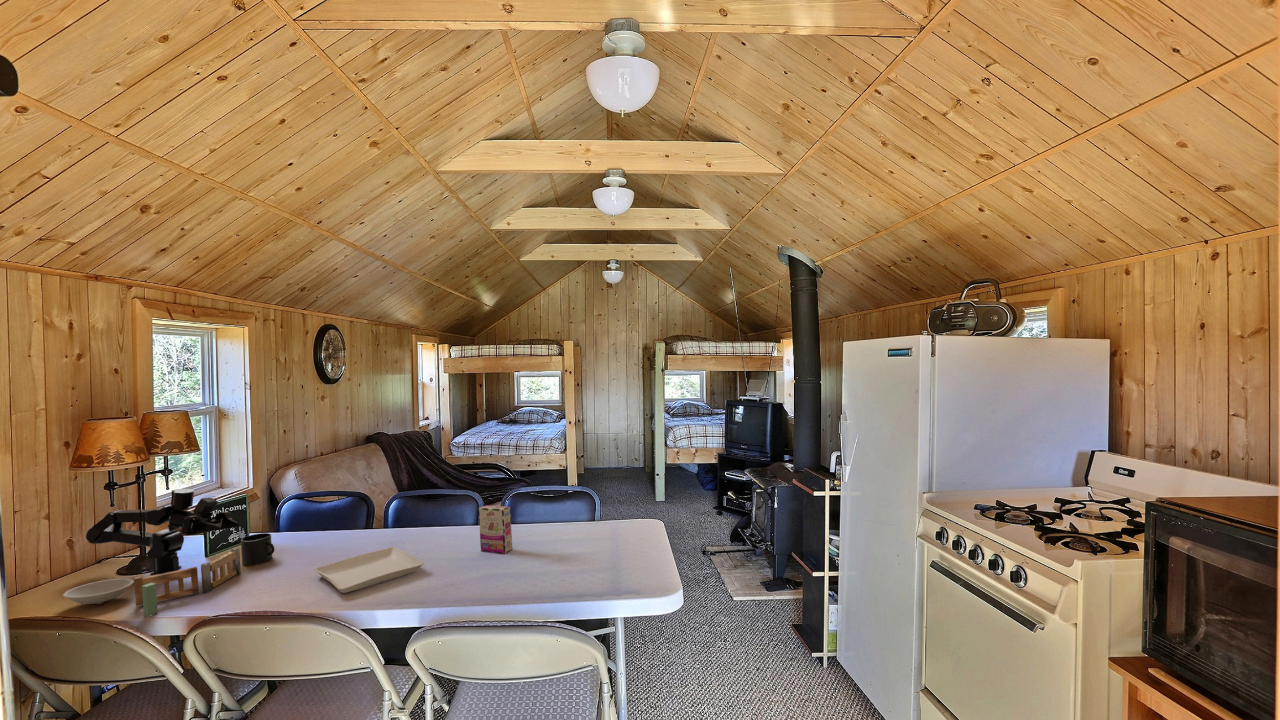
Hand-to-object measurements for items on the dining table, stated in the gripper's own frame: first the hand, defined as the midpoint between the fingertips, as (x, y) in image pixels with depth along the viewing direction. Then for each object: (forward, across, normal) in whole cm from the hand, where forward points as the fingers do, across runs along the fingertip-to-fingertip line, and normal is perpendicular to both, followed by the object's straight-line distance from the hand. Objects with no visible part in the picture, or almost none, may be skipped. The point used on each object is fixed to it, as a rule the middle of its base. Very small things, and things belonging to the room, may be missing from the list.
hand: (229, 526), depth 207 cm
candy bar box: (+93, +15, -4) cm, 95 cm away
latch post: (+5, -31, +21) cm, 38 cm away
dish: (-20, -22, +24) cm, 38 cm away
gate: (+1, -21, +20) cm, 29 cm away
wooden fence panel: (+8, -8, +16) cm, 20 cm away
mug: (+7, +11, +13) cm, 19 cm away
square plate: (+57, -4, +7) cm, 57 cm away
